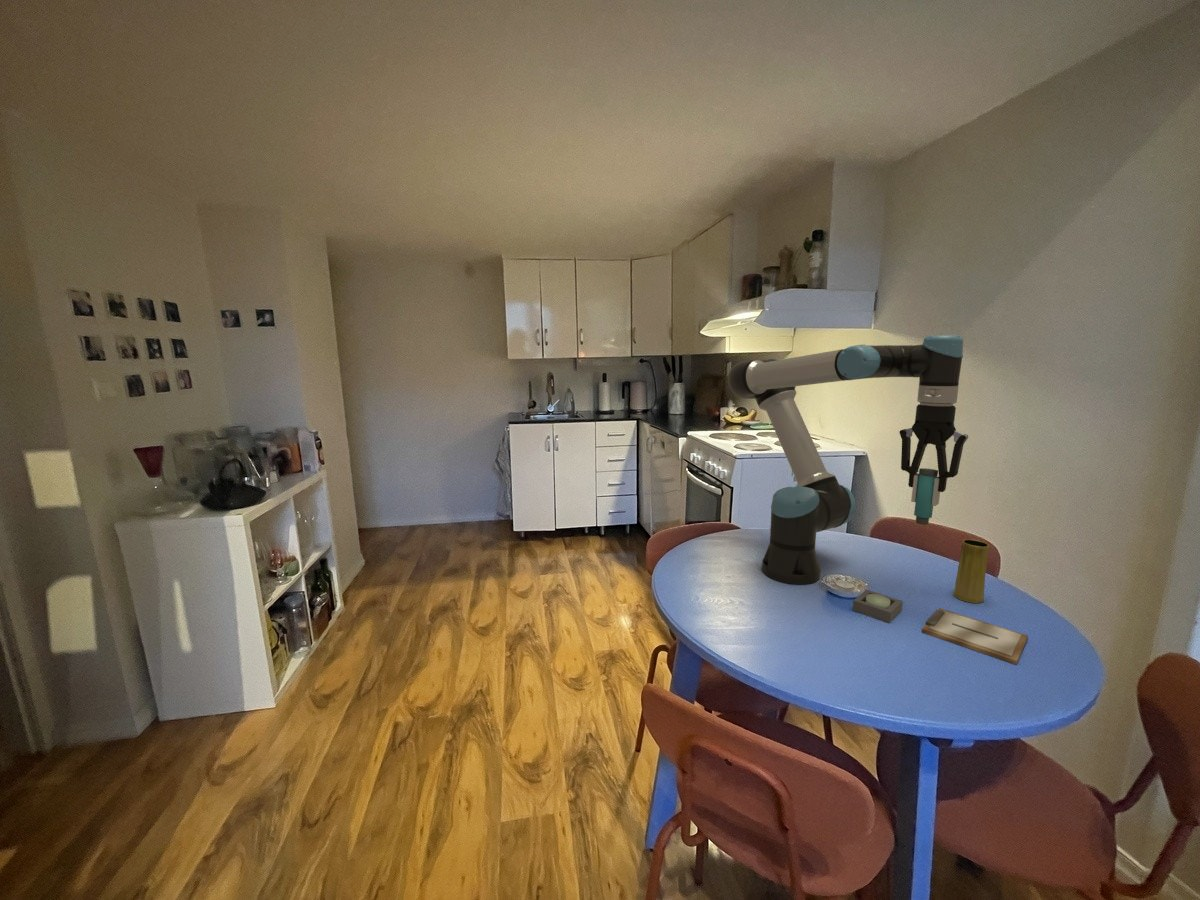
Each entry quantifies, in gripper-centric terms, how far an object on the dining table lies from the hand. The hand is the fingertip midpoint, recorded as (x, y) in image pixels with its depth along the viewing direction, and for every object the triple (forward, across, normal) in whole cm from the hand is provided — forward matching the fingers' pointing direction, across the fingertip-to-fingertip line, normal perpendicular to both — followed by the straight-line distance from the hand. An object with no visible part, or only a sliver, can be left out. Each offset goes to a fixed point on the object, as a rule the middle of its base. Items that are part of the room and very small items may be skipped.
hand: (924, 502), depth 118 cm
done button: (+24, -4, -13) cm, 28 cm away
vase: (+25, +9, +10) cm, 28 cm away
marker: (+5, 0, 0) cm, 5 cm away
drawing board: (+25, +14, -10) cm, 30 cm away
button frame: (+25, -4, -13) cm, 28 cm away
